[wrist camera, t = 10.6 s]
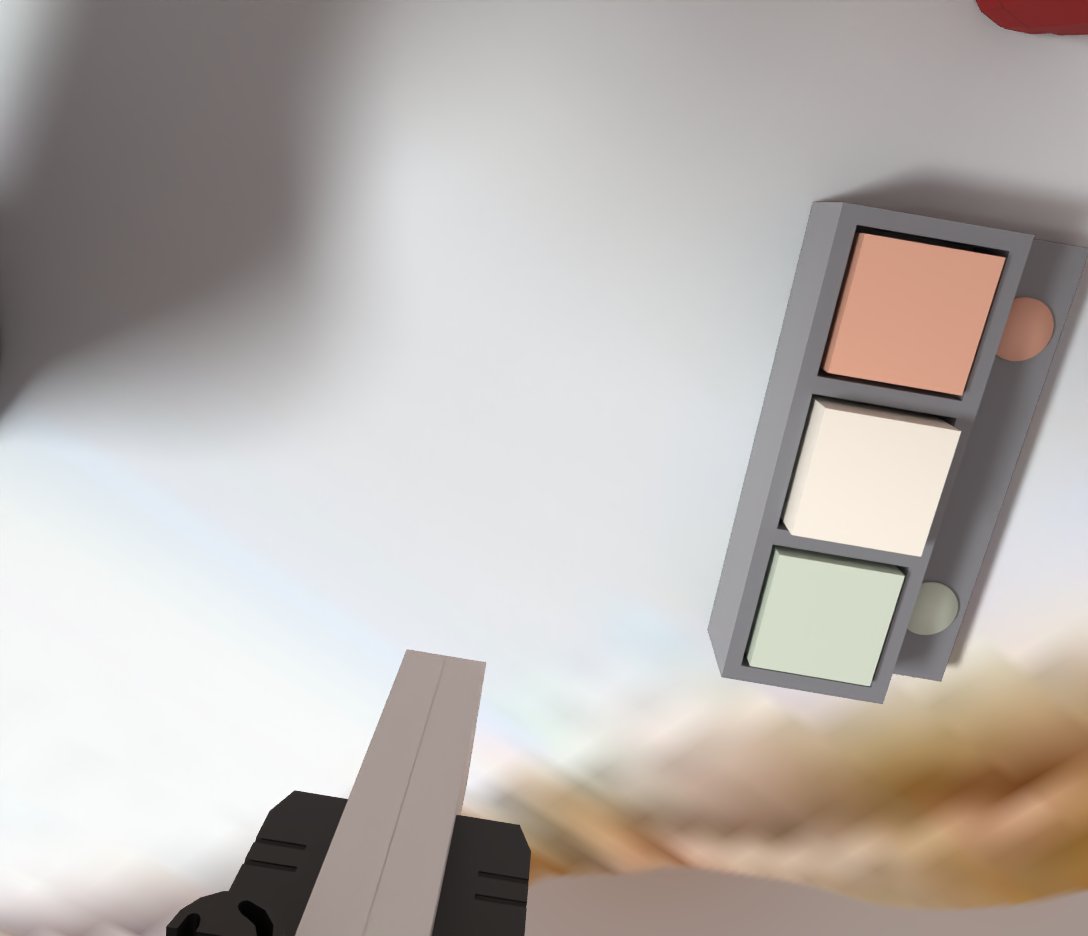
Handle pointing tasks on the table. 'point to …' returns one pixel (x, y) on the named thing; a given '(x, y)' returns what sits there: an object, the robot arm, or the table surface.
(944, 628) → the keypad
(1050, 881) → the table surface
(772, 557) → the sage key
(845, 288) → the terracotta key
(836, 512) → the cream key
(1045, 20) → the plastic cup
